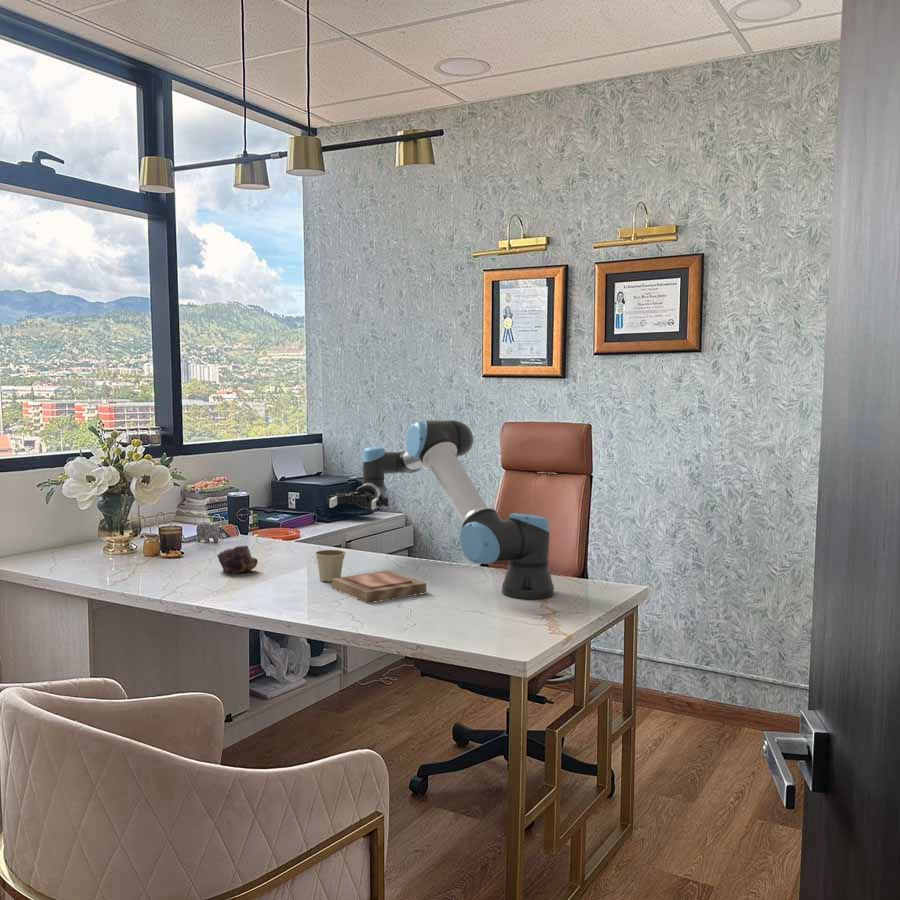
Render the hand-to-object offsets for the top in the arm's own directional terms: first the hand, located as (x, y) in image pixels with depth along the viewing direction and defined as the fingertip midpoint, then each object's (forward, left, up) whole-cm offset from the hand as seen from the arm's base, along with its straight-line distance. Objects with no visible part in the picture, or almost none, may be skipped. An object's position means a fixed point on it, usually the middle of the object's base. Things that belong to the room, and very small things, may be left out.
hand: (351, 504), depth 264 cm
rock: (+29, -23, -23) cm, 43 cm away
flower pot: (+9, +3, -23) cm, 25 cm away
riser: (+4, +23, -22) cm, 33 cm away
